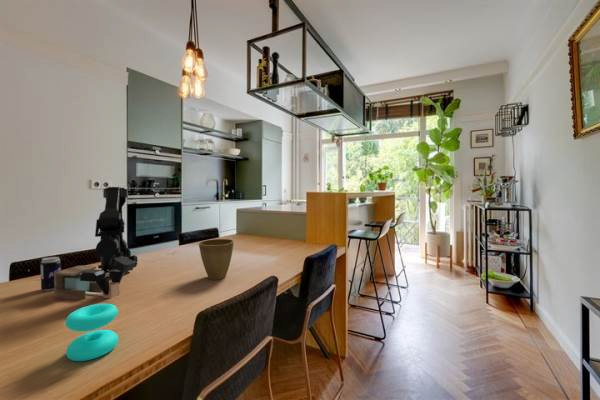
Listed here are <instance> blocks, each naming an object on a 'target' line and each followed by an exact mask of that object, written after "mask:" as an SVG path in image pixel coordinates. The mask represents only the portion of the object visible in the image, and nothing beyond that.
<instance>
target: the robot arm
mask: <svg viewBox="0 0 600 400" xmlns="http://www.w3.org/2000/svg"><path fill="white" fill-rule="evenodd" d="M102 192H103V193H102V194H103V197H102V198H104V199H105V205H104V210H102V211H101V212H100V213H99V216H98V218H97V219H96V223H95V233H94V234H95V235H94V238H95V237H96V238H97V237H100V240H99V241H98V243H97V244H96V246H95V250H96V252H97V258H100V264H98V265H97V269H91V270H88V271H85V272H82V273H81V275H80V281H90V282H96V283H97V284H98V285H99V287H100V288H101V290H102V291H101V292H102V293H104V294H105V295H108V293H109V282H119V285H121V284H120V283H121V281H122V279H123V276H125V275H128V274H130V272H131V271H133V270H134V268H136V267H137V265H138V261H139V260H138V256H137V255H135V254H133V255H132V254H131V253H132V252H131V250H130V248H129V247H128V243H127V241H126V240H125V239H124V235H123V234H124V233H125V225H126V223H125V220H124V218H123V207H124V205H125V204H126V202H127V199H128V197H129V191H128V188H125V187H120V186H108V187H106V188H103V191H102ZM110 280H111V281H110Z"/></svg>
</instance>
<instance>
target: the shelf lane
mask: <svg viewBox="0 0 600 400" xmlns="http://www.w3.org/2000/svg"><path fill="white" fill-rule="evenodd" d="M91 269H95V270H97V266H91V265H75V266H73V267H68V268H65V269H61V271H57V272H54V290H53V291H54V298H61V299H73V300H86V298H87V297H86V290H75V289H65V278H66V277H69V276H75V275H78V274H82V272H85V271H88V270H91ZM89 289H90V291H100V292H103V291H102V290H101V288H100V287H99V285H98V284H97V283H96V281H95V282H90V281H89Z"/></svg>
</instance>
